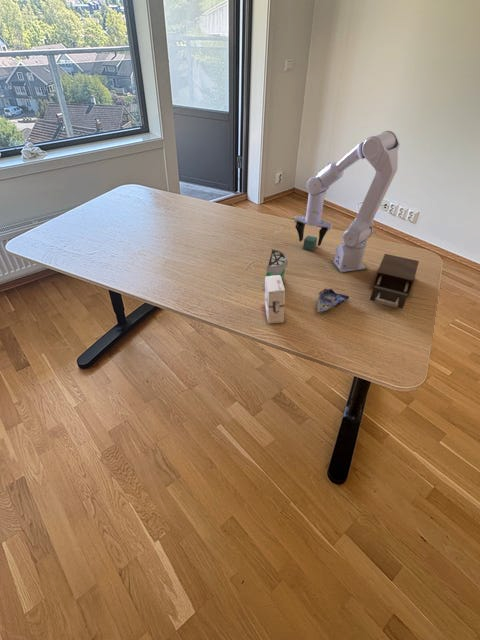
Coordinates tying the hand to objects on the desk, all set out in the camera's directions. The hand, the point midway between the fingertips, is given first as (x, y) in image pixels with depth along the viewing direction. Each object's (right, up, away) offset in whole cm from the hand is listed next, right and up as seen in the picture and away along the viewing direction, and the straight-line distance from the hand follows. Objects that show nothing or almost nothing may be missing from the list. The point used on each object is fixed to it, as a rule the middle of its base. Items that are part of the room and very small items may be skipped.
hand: (310, 242), depth 137 cm
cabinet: (+25, -18, -18) cm, 36 cm away
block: (0, -2, +1) cm, 2 cm away
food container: (-15, -18, -17) cm, 29 cm away
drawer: (+20, -24, -26) cm, 40 cm away
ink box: (-18, -29, -30) cm, 45 cm away
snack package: (+1, -26, -26) cm, 37 cm away
